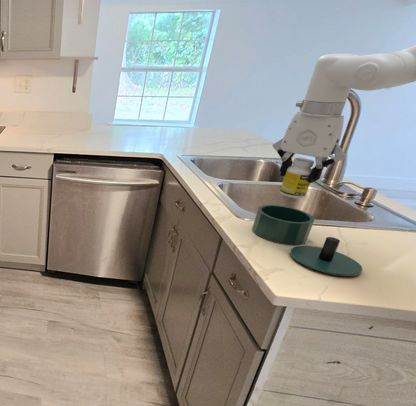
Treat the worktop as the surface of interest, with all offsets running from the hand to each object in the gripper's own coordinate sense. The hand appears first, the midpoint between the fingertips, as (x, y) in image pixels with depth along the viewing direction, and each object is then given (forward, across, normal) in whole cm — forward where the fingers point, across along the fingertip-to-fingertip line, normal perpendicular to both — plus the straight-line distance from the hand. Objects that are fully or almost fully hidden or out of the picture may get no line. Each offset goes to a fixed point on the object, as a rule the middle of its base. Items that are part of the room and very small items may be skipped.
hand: (297, 177), depth 96 cm
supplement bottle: (+5, 0, 0) cm, 5 cm away
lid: (+16, +13, -7) cm, 22 cm away
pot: (+17, 0, 0) cm, 17 cm away
